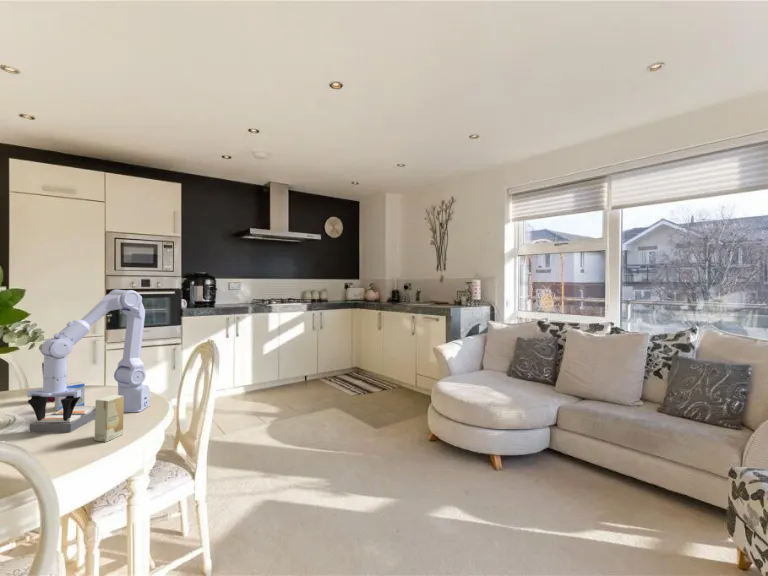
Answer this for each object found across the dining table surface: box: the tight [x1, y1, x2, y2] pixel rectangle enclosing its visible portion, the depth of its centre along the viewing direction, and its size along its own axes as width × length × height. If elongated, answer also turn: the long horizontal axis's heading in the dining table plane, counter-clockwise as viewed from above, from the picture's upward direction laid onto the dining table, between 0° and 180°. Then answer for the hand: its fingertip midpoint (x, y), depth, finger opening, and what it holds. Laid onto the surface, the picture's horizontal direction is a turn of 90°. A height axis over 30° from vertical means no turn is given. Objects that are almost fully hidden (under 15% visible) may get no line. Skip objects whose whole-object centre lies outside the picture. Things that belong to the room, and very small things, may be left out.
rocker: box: [36, 414, 81, 422], centre depth 125 cm, size 10×5×1 cm, turn 95°
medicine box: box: [54, 381, 86, 412], centre depth 143 cm, size 8×4×9 cm, turn 143°
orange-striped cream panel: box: [54, 405, 95, 415], centre depth 132 cm, size 10×5×1 cm, turn 95°
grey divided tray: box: [28, 409, 95, 434], centre depth 129 cm, size 12×15×3 cm
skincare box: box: [94, 394, 125, 443], centre depth 118 cm, size 6×4×12 cm
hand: (53, 419), depth 123 cm, fingers open, 7 cm apart
